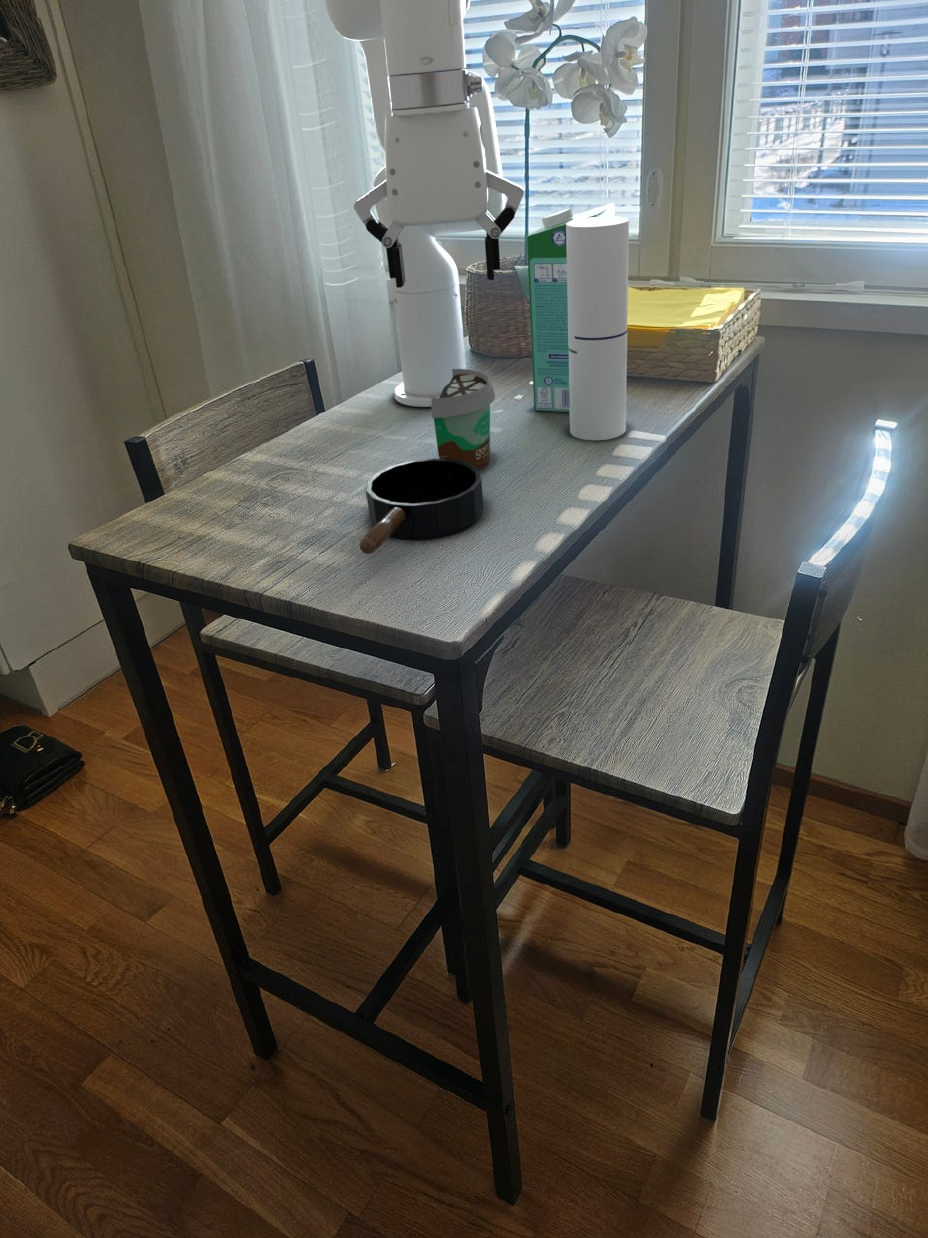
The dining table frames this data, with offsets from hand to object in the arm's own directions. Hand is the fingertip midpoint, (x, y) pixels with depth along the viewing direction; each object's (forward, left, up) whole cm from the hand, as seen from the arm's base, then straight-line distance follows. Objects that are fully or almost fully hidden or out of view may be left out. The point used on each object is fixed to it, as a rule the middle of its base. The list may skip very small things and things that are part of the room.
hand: (445, 281), depth 94 cm
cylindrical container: (-11, +17, -22) cm, 31 cm away
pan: (+14, -5, -22) cm, 27 cm away
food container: (-3, +1, -22) cm, 23 cm away
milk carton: (-23, +15, -22) cm, 36 cm away
